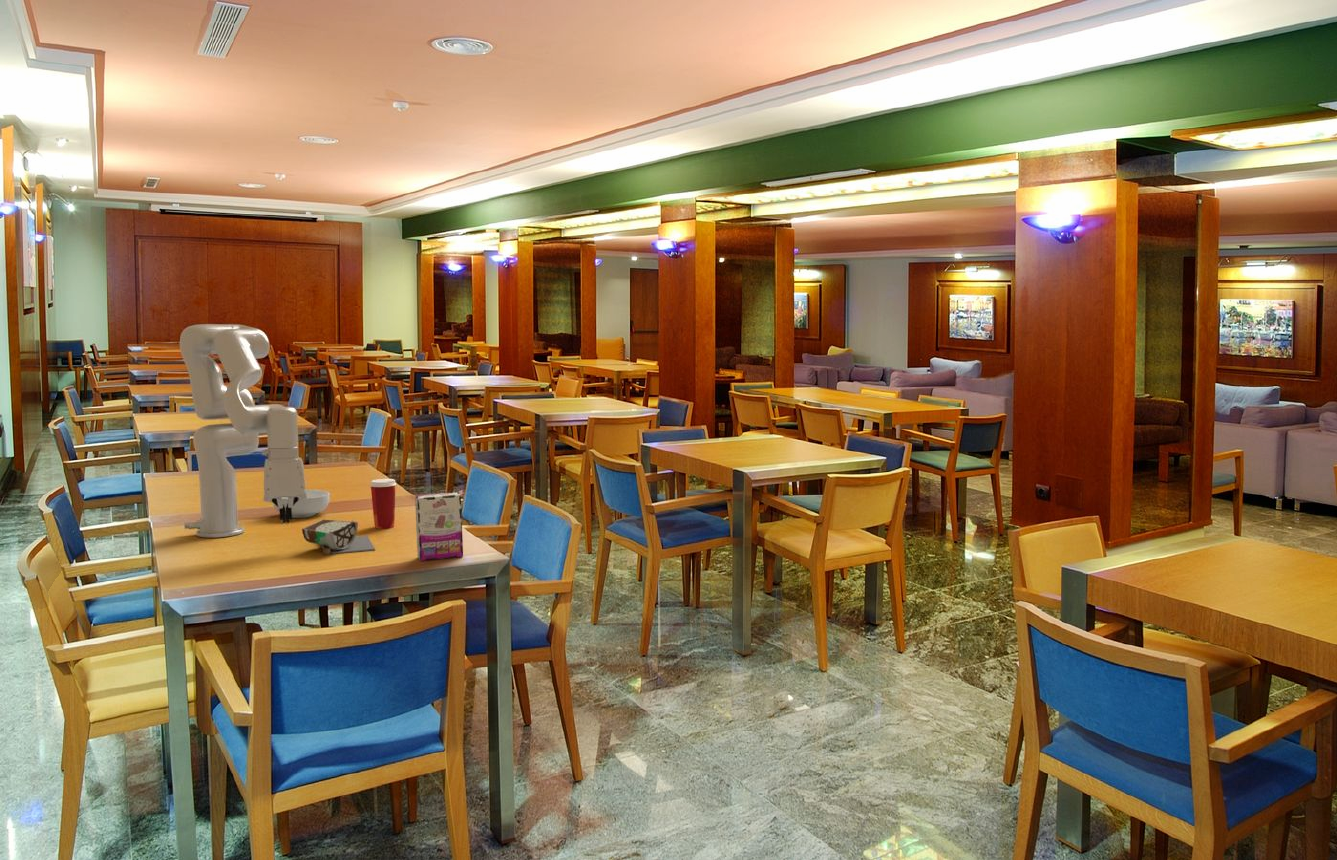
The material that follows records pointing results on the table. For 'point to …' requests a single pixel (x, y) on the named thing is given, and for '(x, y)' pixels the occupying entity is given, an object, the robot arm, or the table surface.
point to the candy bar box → (439, 526)
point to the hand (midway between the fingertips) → (286, 522)
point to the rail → (326, 549)
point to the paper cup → (383, 502)
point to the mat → (357, 546)
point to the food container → (331, 533)
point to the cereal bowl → (308, 503)
